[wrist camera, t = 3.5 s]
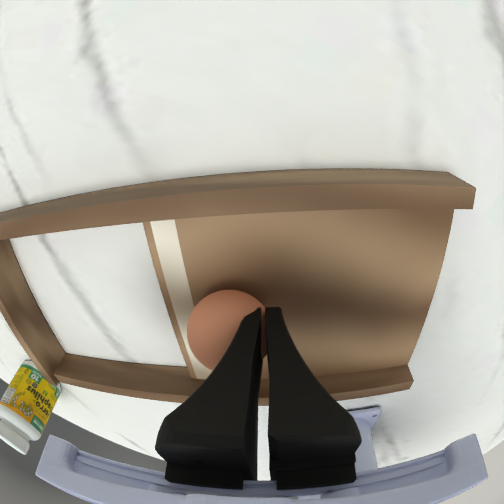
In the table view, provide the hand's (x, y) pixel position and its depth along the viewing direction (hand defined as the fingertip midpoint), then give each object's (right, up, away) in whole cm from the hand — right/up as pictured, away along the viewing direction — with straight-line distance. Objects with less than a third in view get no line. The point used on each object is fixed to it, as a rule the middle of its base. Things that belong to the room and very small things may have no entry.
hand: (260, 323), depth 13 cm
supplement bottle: (-23, -10, +10) cm, 27 cm away
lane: (-4, 0, +3) cm, 5 cm away
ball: (-1, -1, 0) cm, 1 cm away
